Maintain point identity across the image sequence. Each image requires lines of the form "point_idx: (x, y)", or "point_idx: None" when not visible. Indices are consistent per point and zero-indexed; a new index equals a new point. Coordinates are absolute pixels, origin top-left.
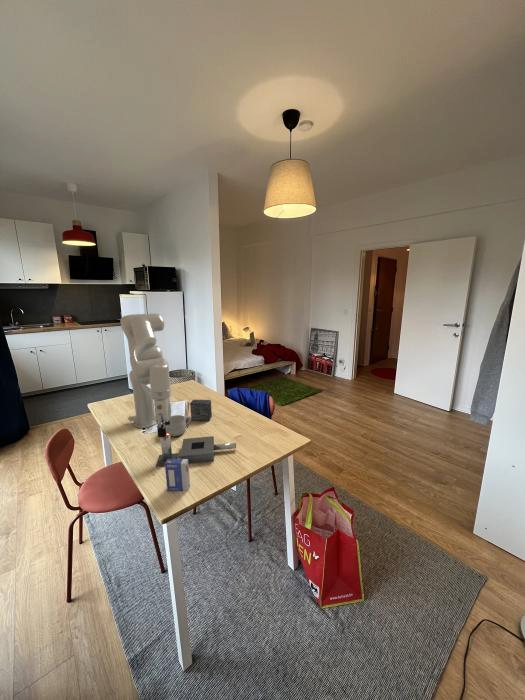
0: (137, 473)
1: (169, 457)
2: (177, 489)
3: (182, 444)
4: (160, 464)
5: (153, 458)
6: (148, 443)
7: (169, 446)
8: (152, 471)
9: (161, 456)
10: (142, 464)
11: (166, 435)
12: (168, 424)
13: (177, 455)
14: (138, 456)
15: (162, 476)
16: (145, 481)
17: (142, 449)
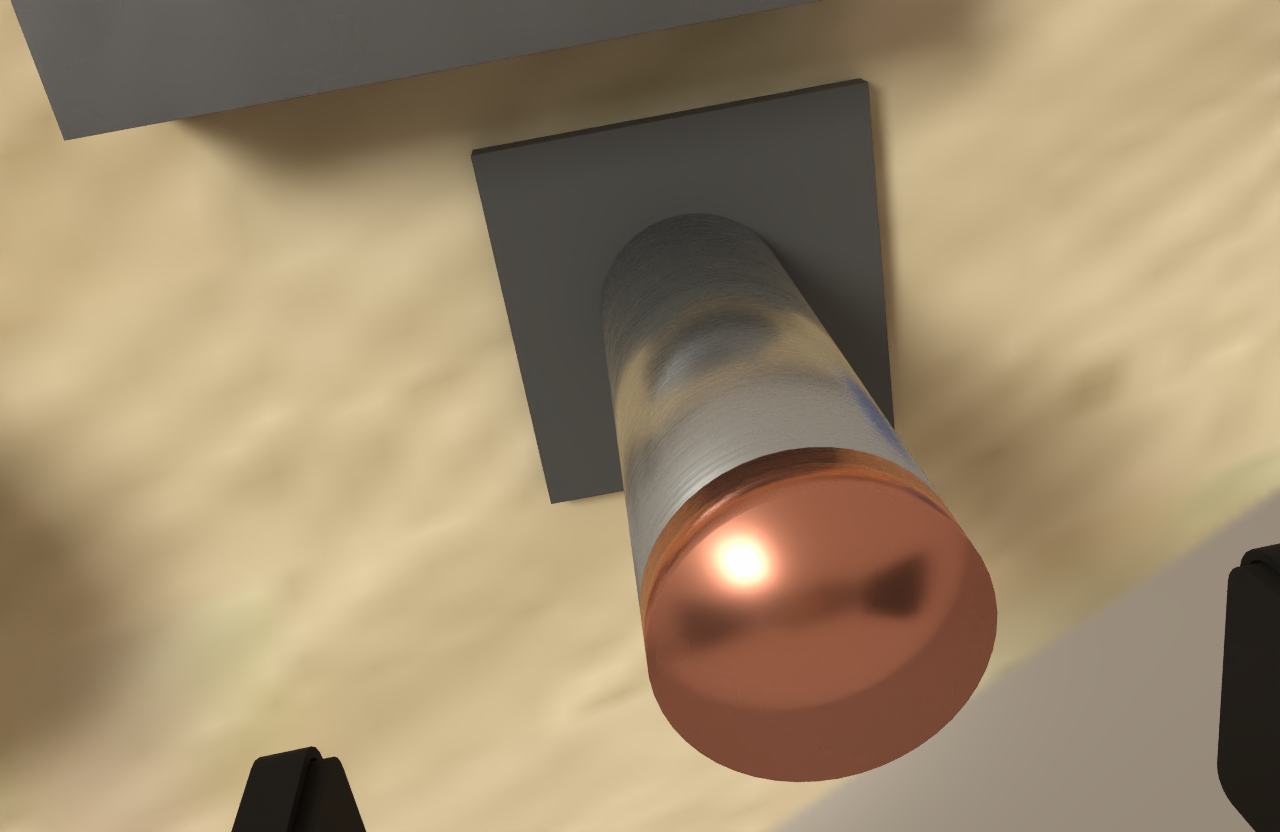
0: (1018, 633)
1: (773, 260)
2: None
3: (359, 80)
4: (861, 374)
5: (626, 562)
6: (161, 812)
7: (815, 334)
8: (1001, 439)
9: (604, 448)
10: None
11: (949, 560)
12: (338, 782)
13: (557, 139)
14: (570, 797)
15: (1172, 221)
16: (1242, 446)
17: (363, 823)
